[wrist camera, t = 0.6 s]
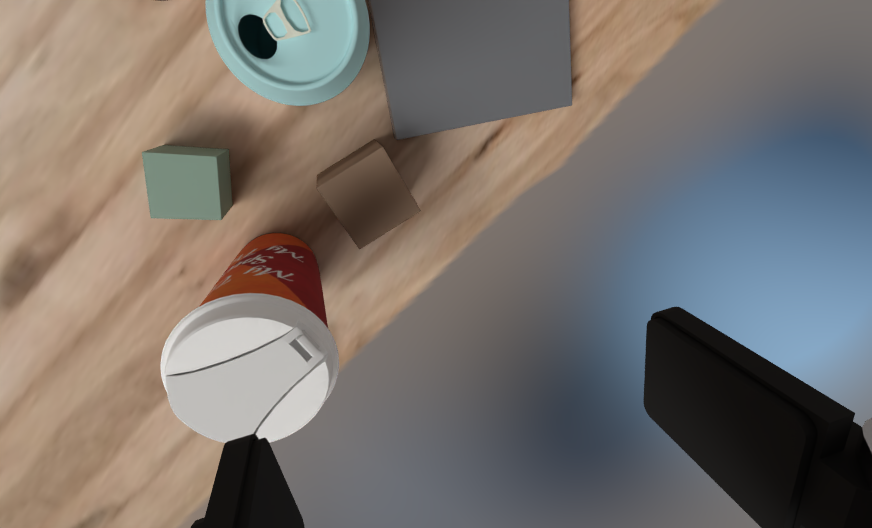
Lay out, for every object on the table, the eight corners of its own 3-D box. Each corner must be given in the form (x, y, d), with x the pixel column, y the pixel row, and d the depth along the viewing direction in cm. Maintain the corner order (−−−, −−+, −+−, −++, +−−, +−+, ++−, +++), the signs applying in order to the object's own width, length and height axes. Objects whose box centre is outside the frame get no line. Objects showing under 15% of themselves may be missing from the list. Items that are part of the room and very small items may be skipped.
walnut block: (317, 174, 32) (316, 188, 28) (373, 139, 32) (382, 146, 28) (354, 228, 34) (359, 249, 30) (407, 195, 34) (421, 210, 30)
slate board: (350, -92, 27) (351, -100, 26) (555, -114, 29) (565, -122, 28) (394, 138, 32) (396, 139, 31) (564, 104, 35) (572, 105, 34)
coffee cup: (287, 196, 32) (263, 271, 18) (353, 277, 36) (372, 391, 22) (194, 259, 32) (101, 381, 18) (268, 334, 36) (236, 483, 22)
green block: (164, 144, 29) (141, 152, 25) (228, 149, 30) (216, 156, 26) (171, 203, 30) (150, 218, 27) (232, 205, 31) (221, 220, 28)
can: (334, 118, 31) (341, 132, 20) (230, 74, 28) (175, 62, 18) (369, 17, 29) (397, -28, 18) (262, -39, 27) (222, -130, 16)
